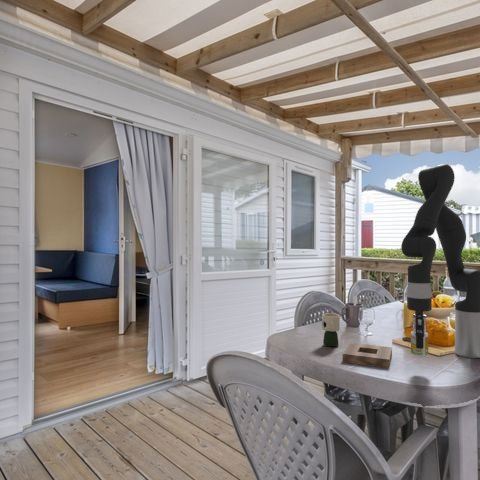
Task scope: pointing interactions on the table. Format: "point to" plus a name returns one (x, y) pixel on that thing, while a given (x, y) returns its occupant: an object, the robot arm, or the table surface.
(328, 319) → the character mug
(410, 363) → the table surface
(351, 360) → the walnut bottle holder
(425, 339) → the supplement bottle
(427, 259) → the robot arm
